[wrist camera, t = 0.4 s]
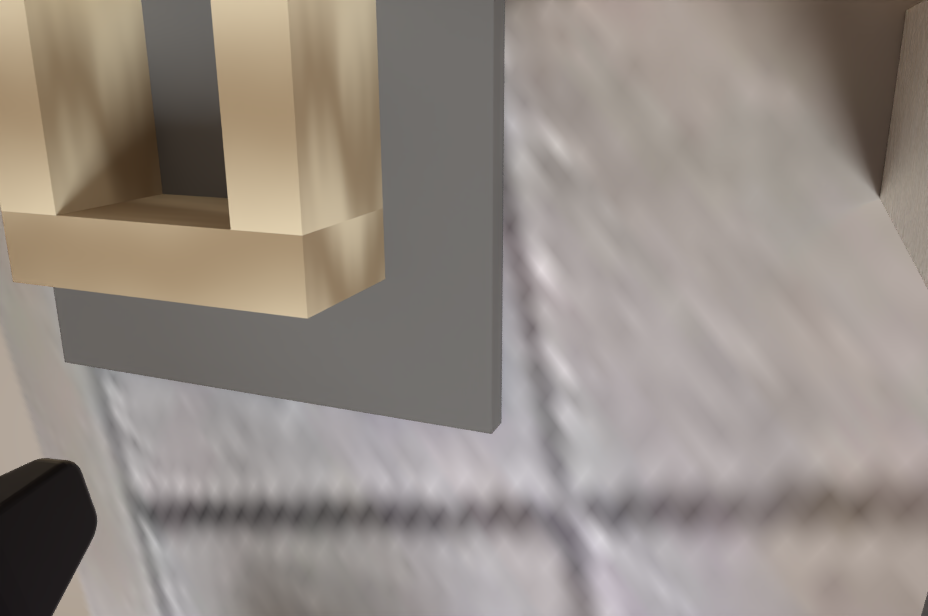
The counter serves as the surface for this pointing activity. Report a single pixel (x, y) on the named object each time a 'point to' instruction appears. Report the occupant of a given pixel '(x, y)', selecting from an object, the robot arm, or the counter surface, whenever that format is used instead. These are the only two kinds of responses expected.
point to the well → (245, 152)
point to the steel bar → (910, 142)
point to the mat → (404, 220)
